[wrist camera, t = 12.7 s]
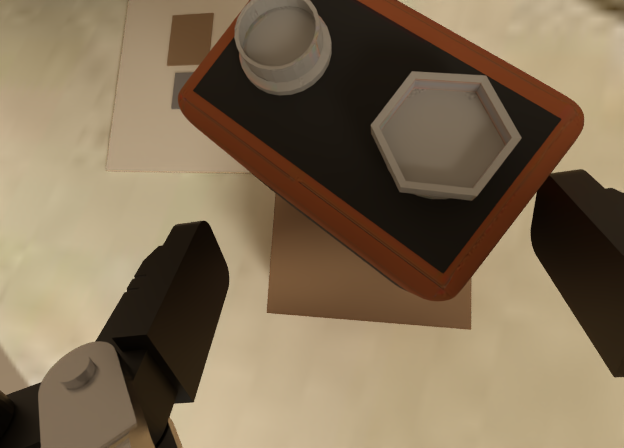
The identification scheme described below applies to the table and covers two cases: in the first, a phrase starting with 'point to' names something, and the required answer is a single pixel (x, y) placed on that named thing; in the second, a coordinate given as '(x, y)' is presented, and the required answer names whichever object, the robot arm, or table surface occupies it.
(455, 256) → the battery
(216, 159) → the page
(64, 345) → the table surface
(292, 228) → the base brick
